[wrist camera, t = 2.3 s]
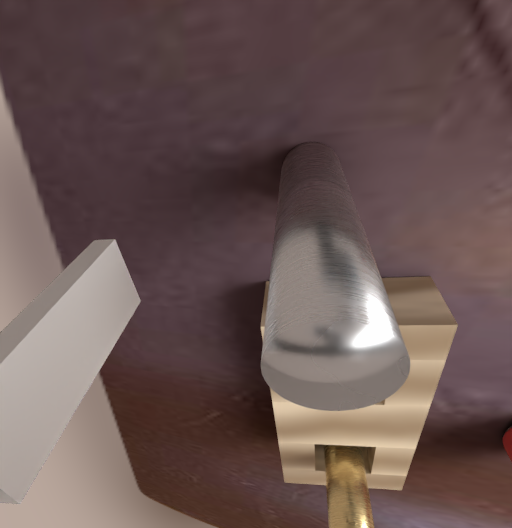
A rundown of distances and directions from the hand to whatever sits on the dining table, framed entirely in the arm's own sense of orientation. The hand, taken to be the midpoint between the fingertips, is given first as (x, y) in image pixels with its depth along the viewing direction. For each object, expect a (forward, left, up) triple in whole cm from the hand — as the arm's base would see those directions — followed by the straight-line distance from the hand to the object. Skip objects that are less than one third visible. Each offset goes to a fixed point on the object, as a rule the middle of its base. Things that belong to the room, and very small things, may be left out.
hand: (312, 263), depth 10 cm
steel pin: (0, 0, -8) cm, 8 cm away
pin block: (+17, +2, -8) cm, 18 cm away
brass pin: (+22, +2, -8) cm, 23 cm away
